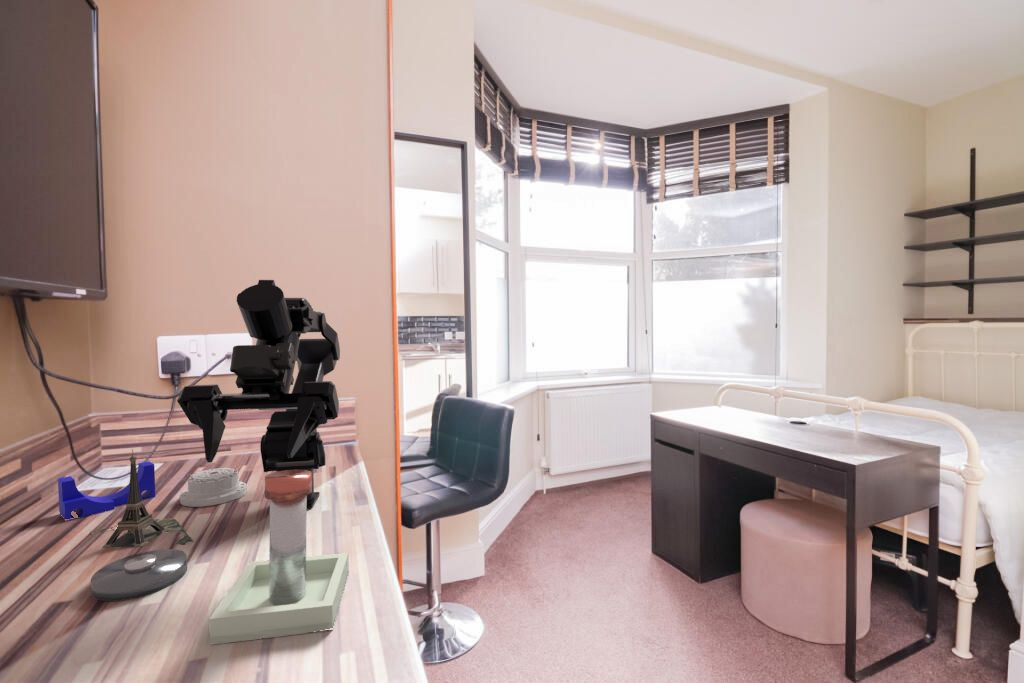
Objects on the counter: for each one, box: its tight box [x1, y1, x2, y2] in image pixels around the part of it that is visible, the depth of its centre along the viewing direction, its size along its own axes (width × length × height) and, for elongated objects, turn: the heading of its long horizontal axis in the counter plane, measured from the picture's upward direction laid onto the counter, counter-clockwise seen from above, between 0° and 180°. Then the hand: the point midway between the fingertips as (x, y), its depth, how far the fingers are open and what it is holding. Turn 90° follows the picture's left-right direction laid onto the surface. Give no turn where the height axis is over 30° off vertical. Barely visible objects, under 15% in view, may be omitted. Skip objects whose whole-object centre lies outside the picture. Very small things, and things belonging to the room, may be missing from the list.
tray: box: [208, 552, 350, 646], centre depth 52 cm, size 11×11×2 cm
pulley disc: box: [90, 548, 188, 602], centre depth 57 cm, size 9×9×2 cm
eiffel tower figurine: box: [90, 448, 195, 549], centre depth 68 cm, size 15×10×13 cm
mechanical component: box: [179, 467, 248, 508], centre depth 85 cm, size 10×4×10 cm
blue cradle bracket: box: [57, 461, 156, 520], centre depth 80 cm, size 12×4×6 cm, turn 142°
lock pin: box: [264, 469, 312, 605], centre depth 52 cm, size 5×5×13 cm
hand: (249, 458), depth 59 cm, fingers open, 9 cm apart
